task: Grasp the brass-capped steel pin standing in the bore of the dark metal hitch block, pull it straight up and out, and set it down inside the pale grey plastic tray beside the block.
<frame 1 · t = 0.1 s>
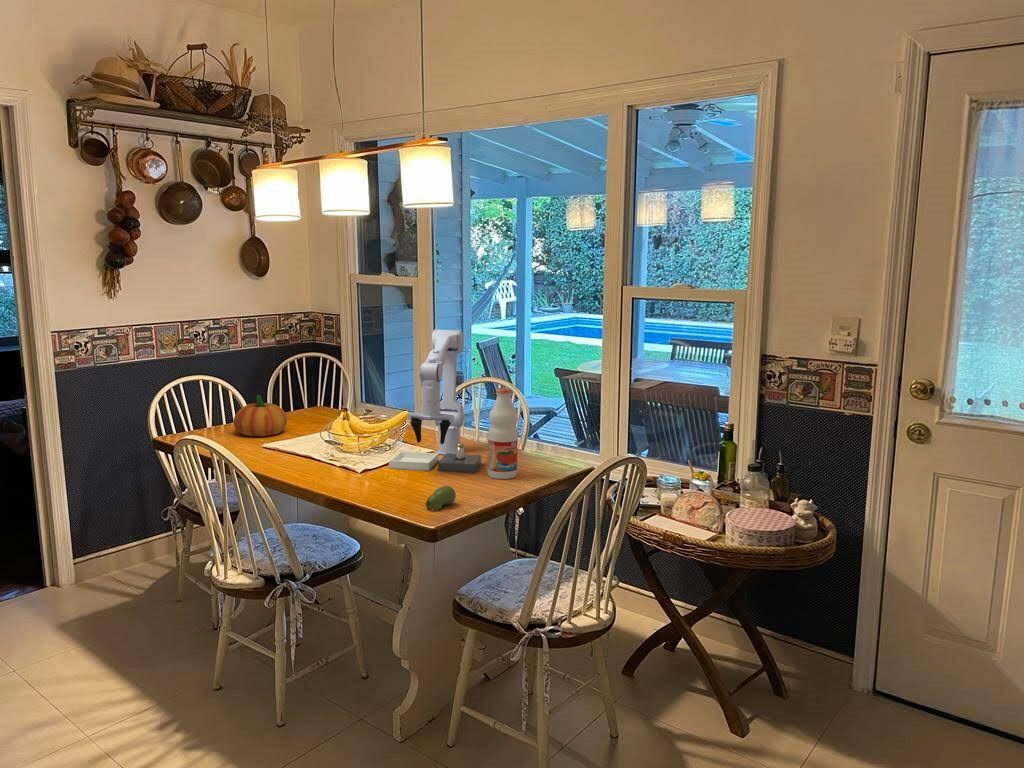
hand: (430, 442, 247), 10 cm above the table, tool pointing down, fingers open, 7 cm apart
fruit juice: (502, 476, 248), on the table
pumpkin: (261, 434, 298), on the table
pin: (460, 455, 256), in the hitch block
pear: (440, 507, 217), on the table
hitch block: (460, 467, 257), on the table
tray: (414, 464, 259), on the table
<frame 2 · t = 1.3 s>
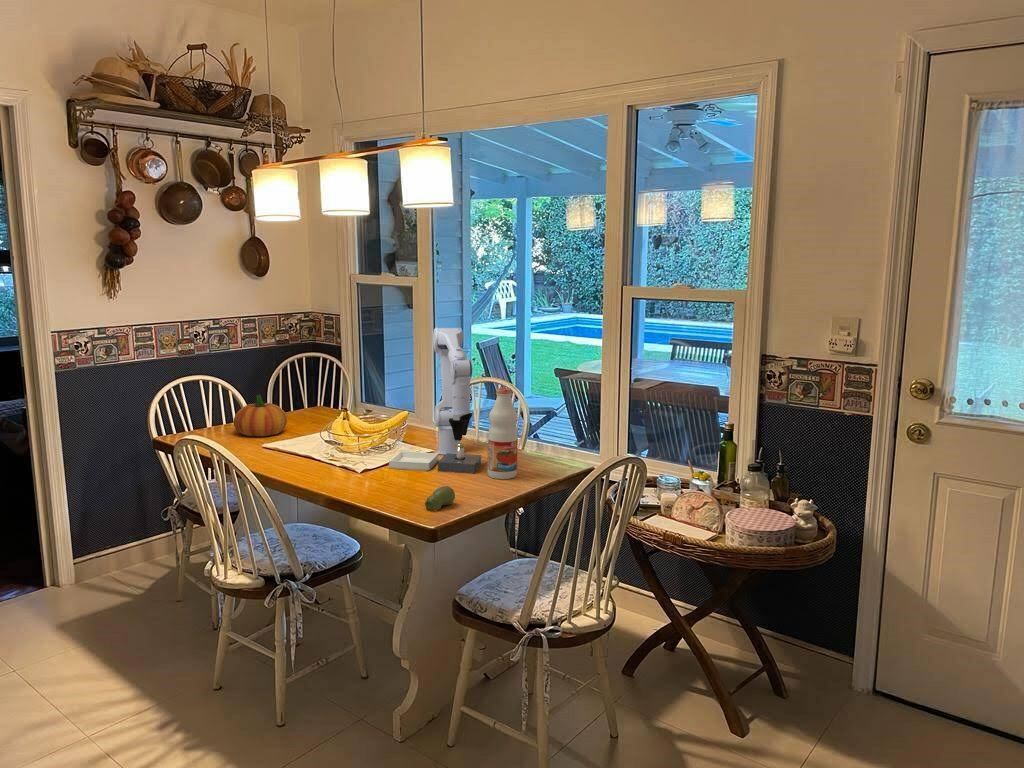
hand: (460, 437, 255), 10 cm above the table, tool pointing down, fingers open, 7 cm apart
nothing on the table moved.
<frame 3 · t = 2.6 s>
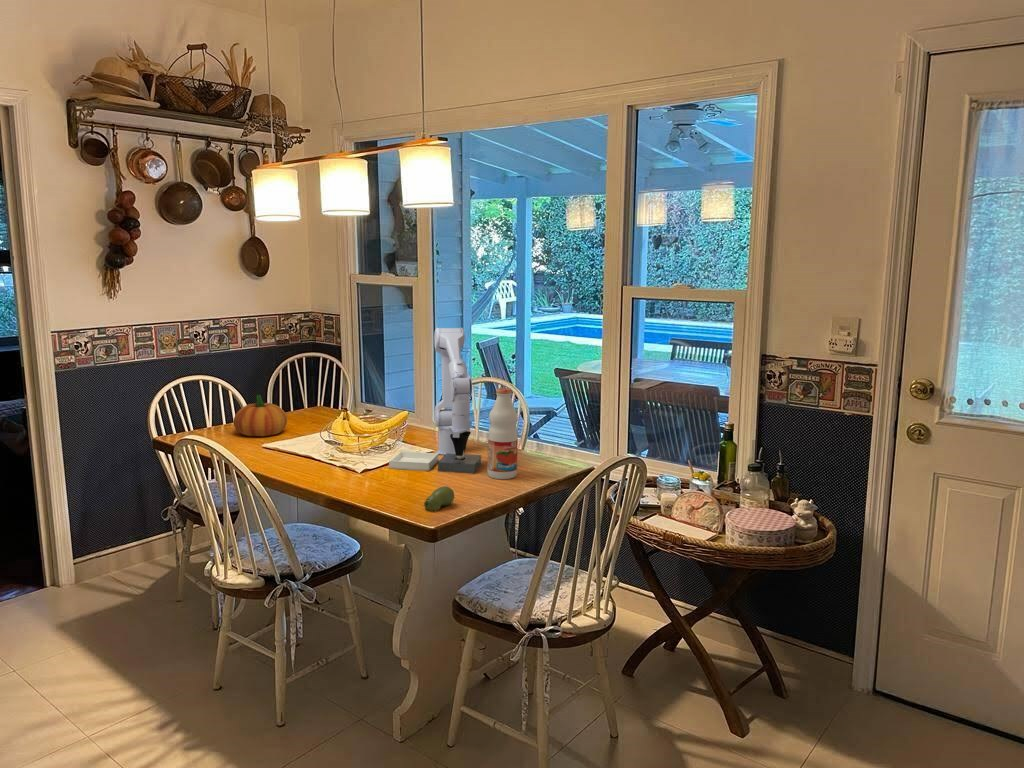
hand: (460, 454, 256), 4 cm above the table, tool pointing down, fingers closed on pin, 2 cm apart
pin: (460, 455, 256), in the hitch block, touching gripper
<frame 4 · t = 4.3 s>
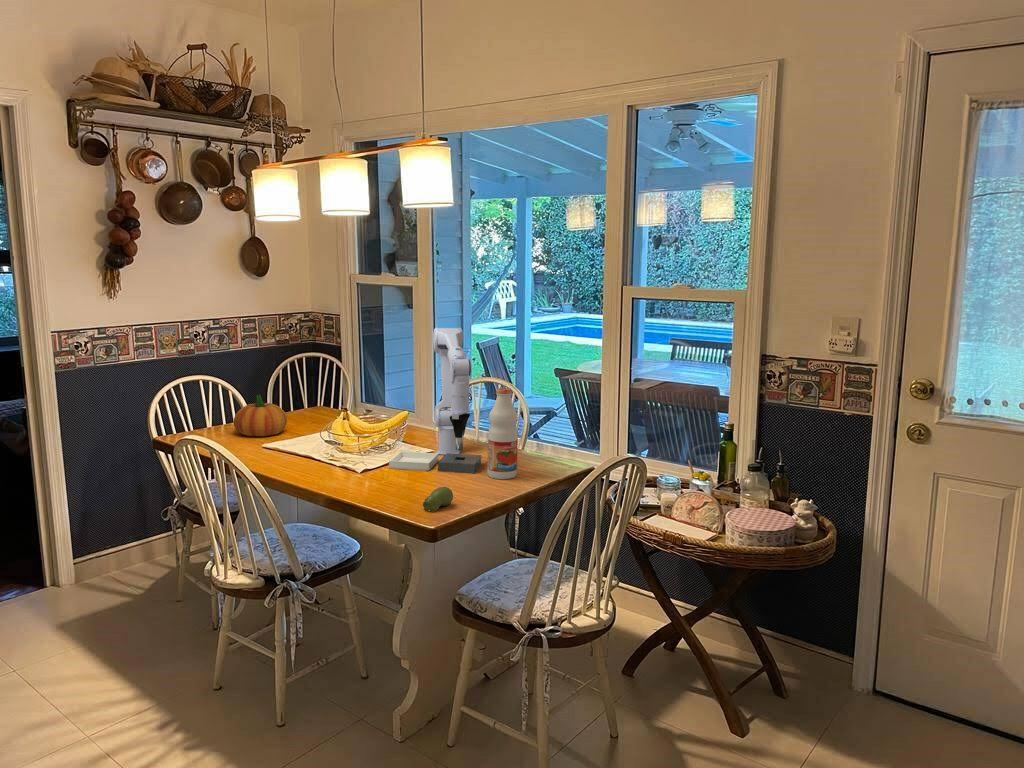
hand: (459, 436, 255), 10 cm above the table, tool pointing down, fingers closed on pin, 2 cm apart
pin: (459, 437, 255), point 10 cm above the table, touching gripper
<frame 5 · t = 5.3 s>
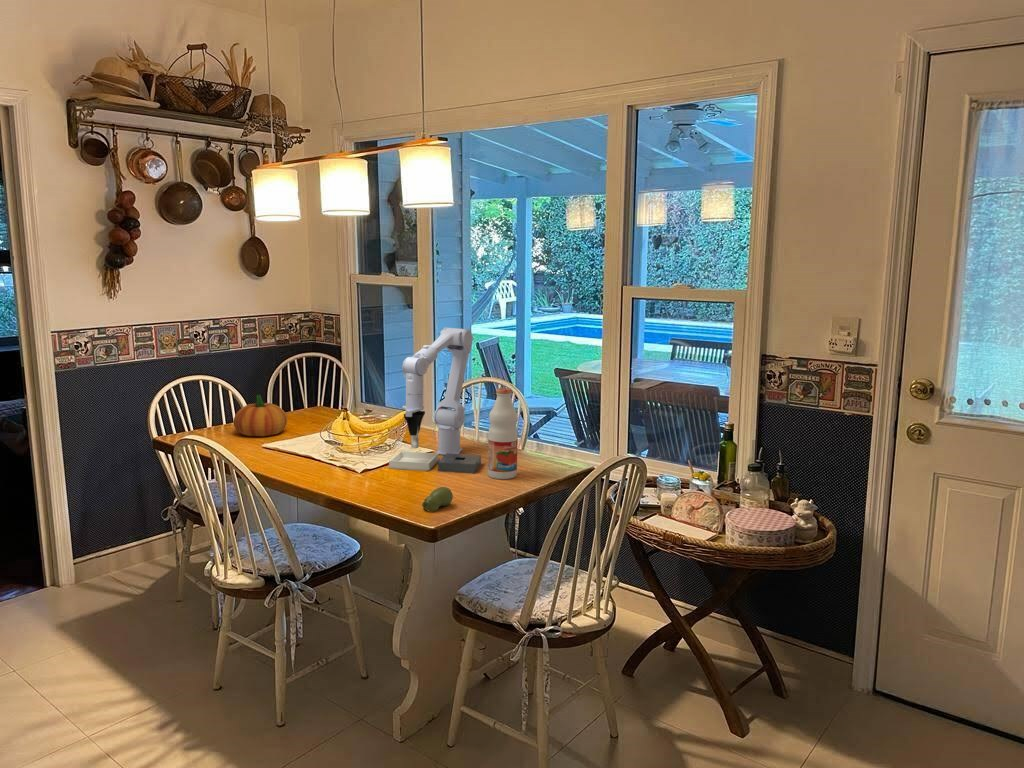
hand: (414, 434, 257), 10 cm above the table, tool pointing down, fingers closed on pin, 2 cm apart
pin: (414, 435, 257), point 10 cm above the table, touching gripper
when the fingers open (7 cm above the table, at t = 6.2 s): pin drops 1 cm, resting on tray.
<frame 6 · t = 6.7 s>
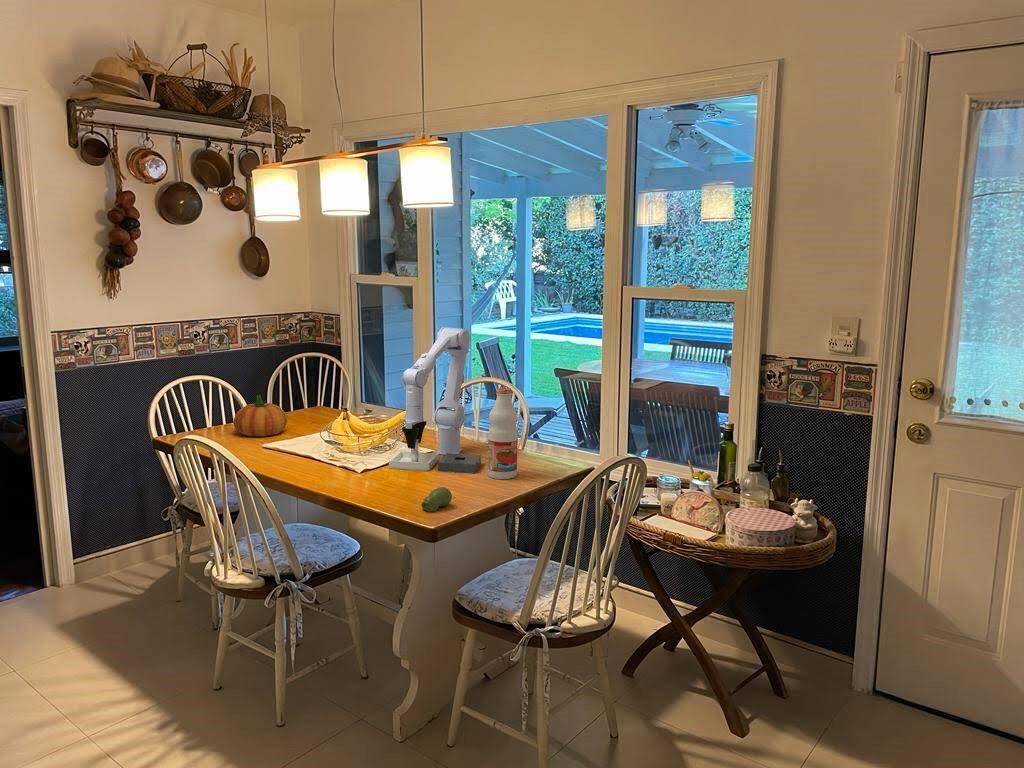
hand: (414, 445, 258), 7 cm above the table, tool pointing down, fingers open, 7 cm apart
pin: (414, 451, 258), in the tray, point 5 cm above the table
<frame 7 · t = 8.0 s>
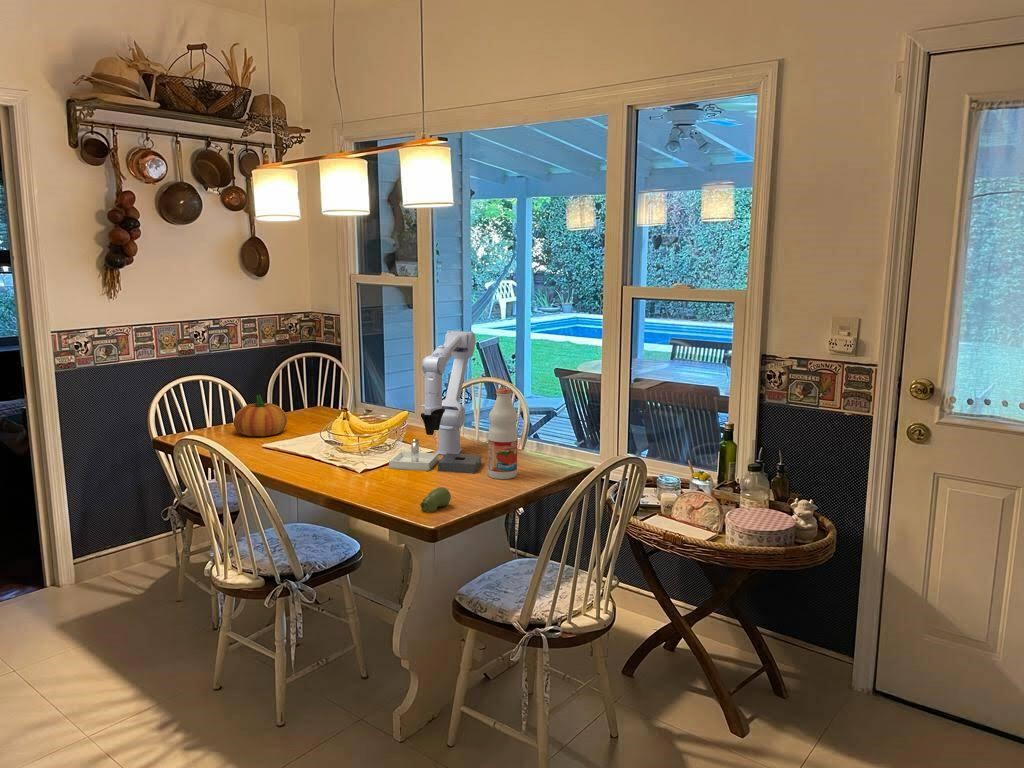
hand: (432, 432, 260), 10 cm above the table, tool pointing down, fingers open, 7 cm apart
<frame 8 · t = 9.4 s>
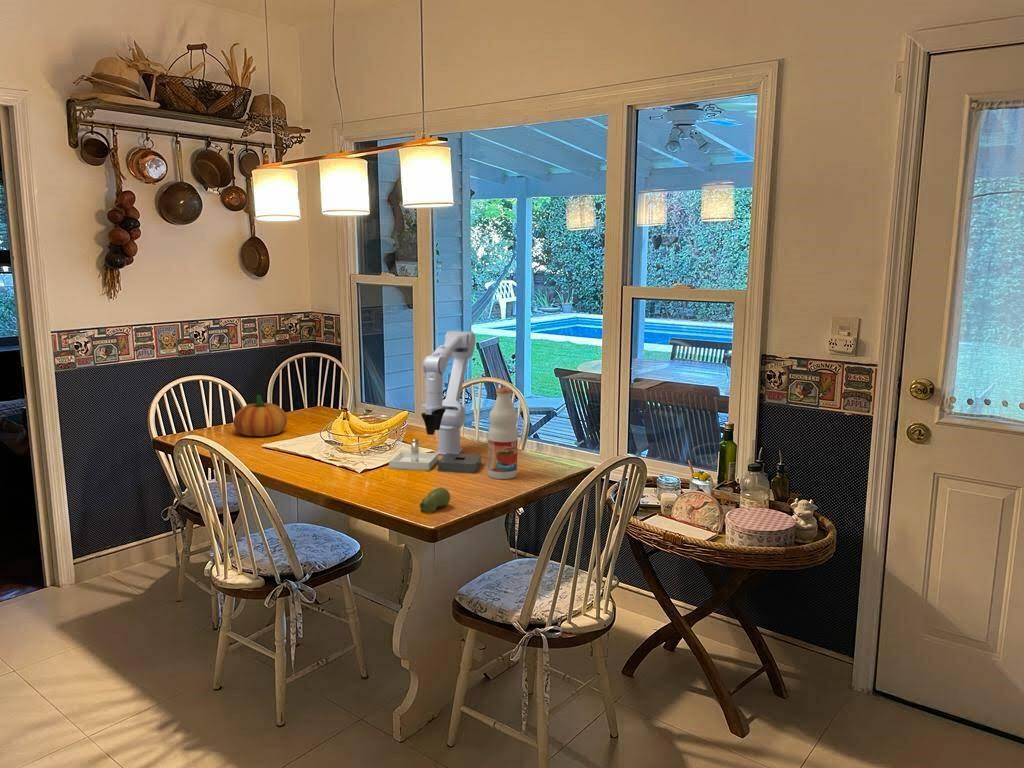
hand: (433, 432, 260), 10 cm above the table, tool pointing down, fingers open, 7 cm apart
at the end: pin inside the target area on the tray (0.2 cm from its centre), point 4.6 cm above the tray's base; the gripper is holding nothing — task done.
